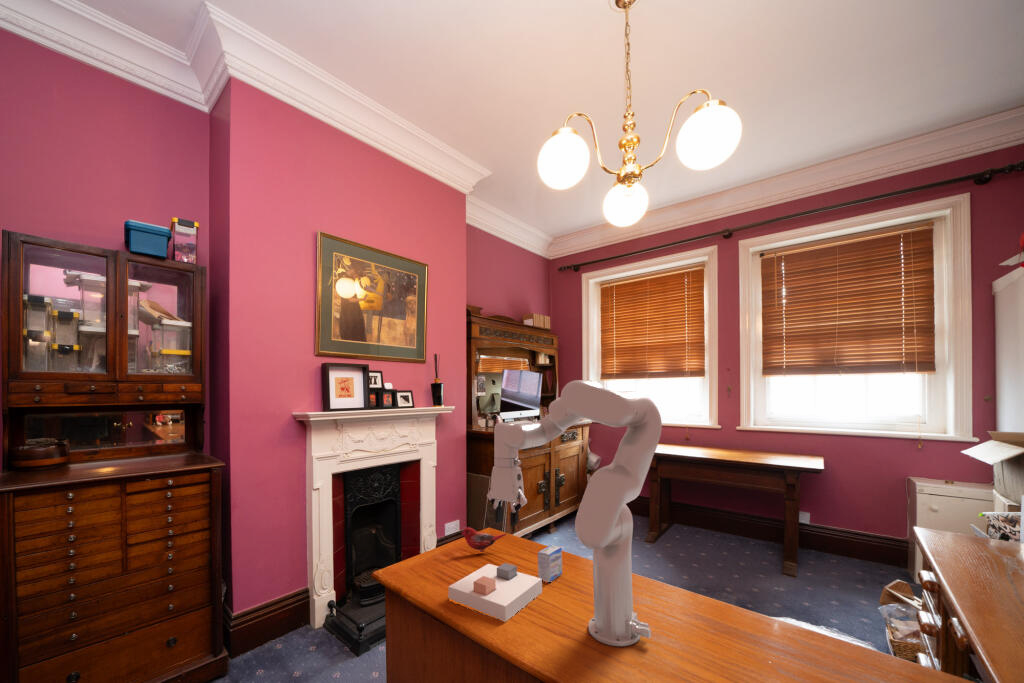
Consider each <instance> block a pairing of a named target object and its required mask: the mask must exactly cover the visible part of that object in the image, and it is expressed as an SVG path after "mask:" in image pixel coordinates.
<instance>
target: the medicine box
mask: <svg viewBox="0 0 1024 683" xmlns="http://www.w3.org/2000/svg"><path fill="white" fill-rule="evenodd" d="M562 550H563V549H562V547H560V546H558V545H553V544H550V545H548V546H546V547H545V548H543V549H541V550H540V551H538V552H537V566H538V567H537V568H538V569H537V570H538V571H537V573H538V574H537V575H538V577H537V578H541V579H542V580H544V581H547V582H551V581H553V580H554V579H555V578H557V577H558V576H560V575H561V574H562V575H563V551H562ZM562 575H561V576H562ZM561 576H560V577H561ZM558 578H559V577H558ZM558 578H557V579H558ZM555 580H556V579H555ZM555 580H554V581H555ZM544 581H543V582H544ZM554 581H553V582H554ZM547 582H546V583H547ZM551 583H552V582H551Z"/></svg>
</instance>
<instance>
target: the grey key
mask: <svg viewBox="0 0 1024 683" xmlns="http://www.w3.org/2000/svg"><path fill="white" fill-rule="evenodd" d="M517 572H518V567H517V565H514V564H510V563H506V562H504V563H502V564H501V565H499V567H497V577H498V578H501V579H505V580H508V581H509V580H511V579H512V578H514V577H515V576H517Z"/></svg>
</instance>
